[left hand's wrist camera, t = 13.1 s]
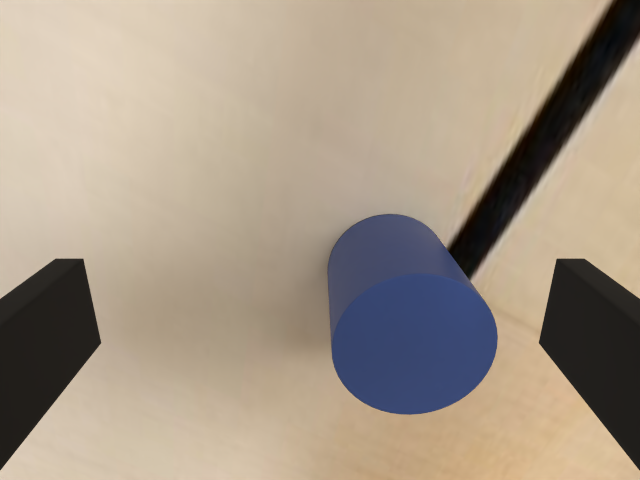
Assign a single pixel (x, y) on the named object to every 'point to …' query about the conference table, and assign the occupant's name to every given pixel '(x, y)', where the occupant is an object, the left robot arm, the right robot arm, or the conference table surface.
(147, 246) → the conference table surface
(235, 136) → the conference table surface
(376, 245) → the can
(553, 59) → the conference table surface
